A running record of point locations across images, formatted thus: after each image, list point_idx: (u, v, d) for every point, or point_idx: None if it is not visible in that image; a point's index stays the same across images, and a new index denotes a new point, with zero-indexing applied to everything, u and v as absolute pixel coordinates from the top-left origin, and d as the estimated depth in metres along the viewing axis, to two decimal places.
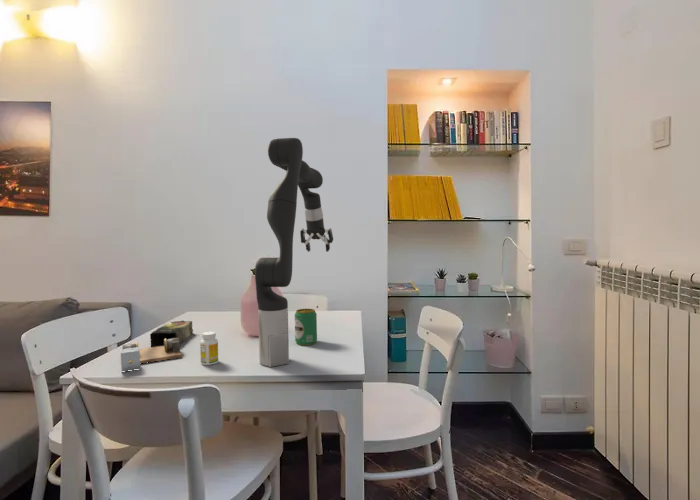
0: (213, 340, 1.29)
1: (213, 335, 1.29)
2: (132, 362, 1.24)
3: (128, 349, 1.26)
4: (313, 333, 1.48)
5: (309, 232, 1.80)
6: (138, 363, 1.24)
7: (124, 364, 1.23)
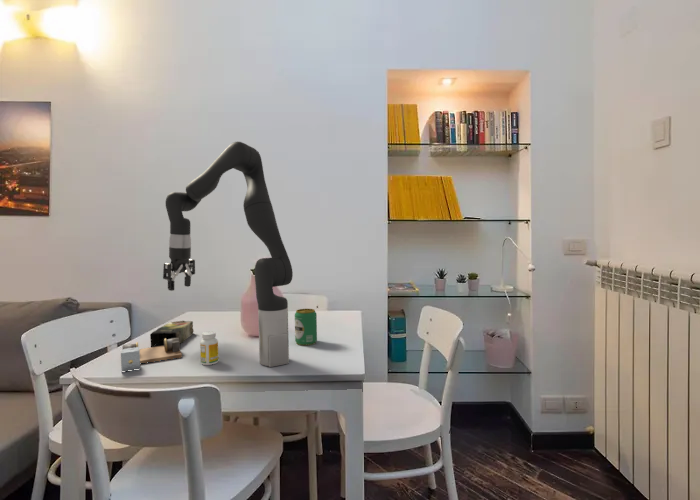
0: (213, 340, 1.29)
1: (213, 335, 1.29)
2: (132, 362, 1.24)
3: (128, 349, 1.26)
4: (313, 333, 1.48)
5: (177, 264, 1.51)
6: (138, 363, 1.24)
7: (124, 364, 1.23)
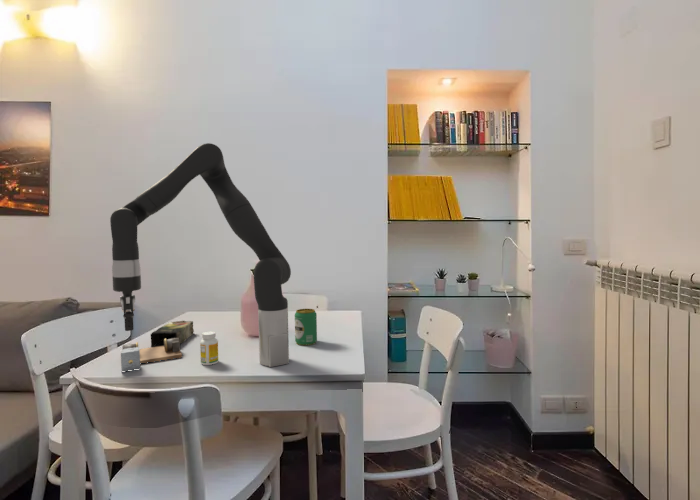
0: (213, 340, 1.29)
1: (213, 335, 1.29)
2: (132, 362, 1.24)
3: (128, 349, 1.26)
4: (313, 333, 1.48)
5: None
6: (138, 363, 1.24)
7: (124, 364, 1.23)
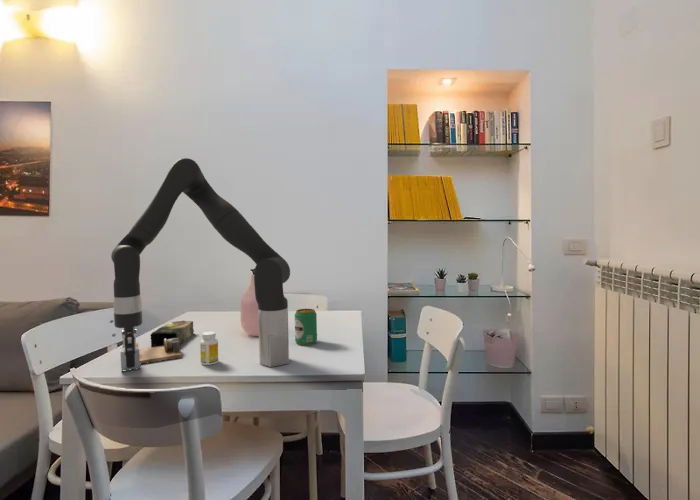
0: (213, 340, 1.29)
1: (213, 335, 1.29)
2: None
3: None
4: (313, 333, 1.48)
5: (133, 333, 1.24)
6: (138, 362, 1.25)
7: (124, 363, 1.23)
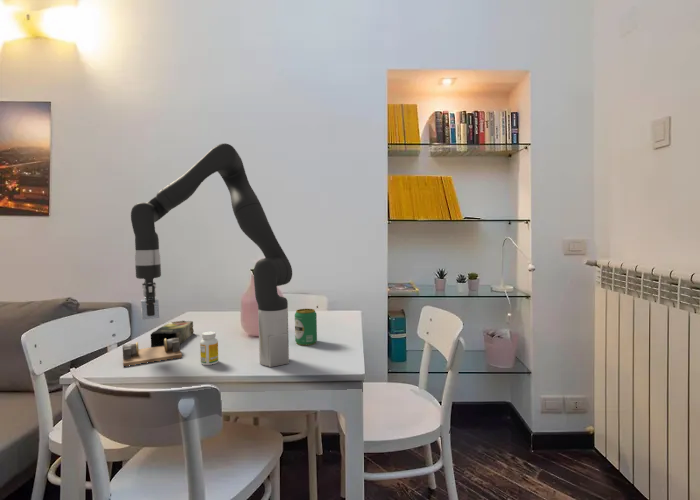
0: (213, 340, 1.29)
1: (213, 335, 1.29)
2: None
3: (148, 299, 1.37)
4: (313, 333, 1.48)
5: (153, 283, 1.34)
6: (157, 311, 1.35)
7: (145, 311, 1.34)
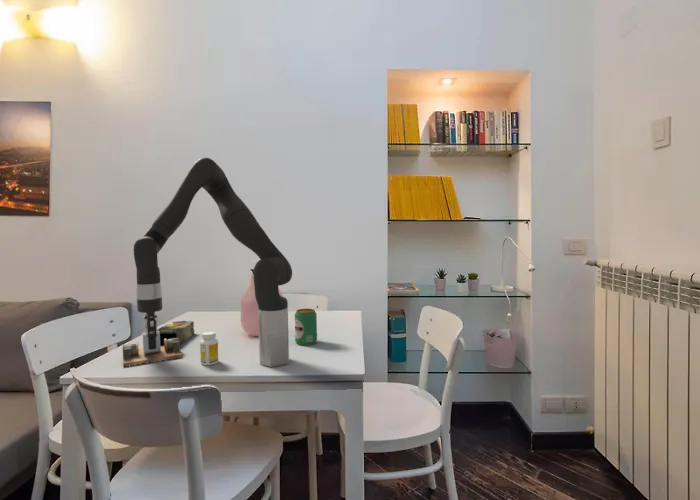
0: (213, 340, 1.29)
1: (213, 335, 1.29)
2: None
3: None
4: (313, 333, 1.48)
5: (154, 317, 1.35)
6: (158, 344, 1.36)
7: (146, 345, 1.34)
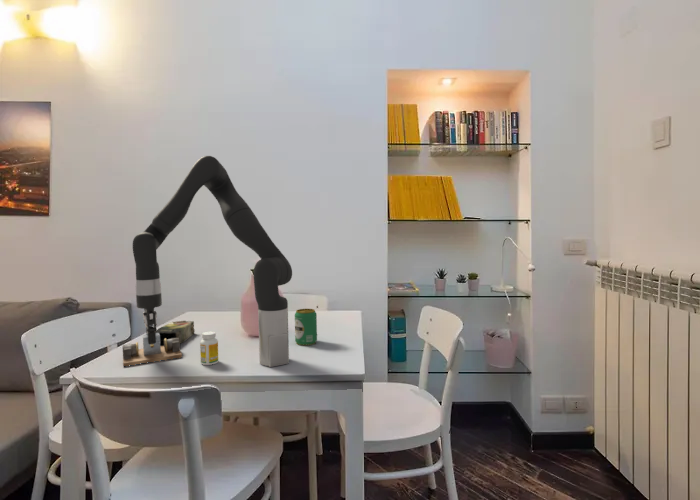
0: (213, 340, 1.29)
1: (213, 335, 1.29)
2: (153, 346, 1.35)
3: None
4: (313, 333, 1.48)
5: None
6: (159, 347, 1.36)
7: (146, 347, 1.34)
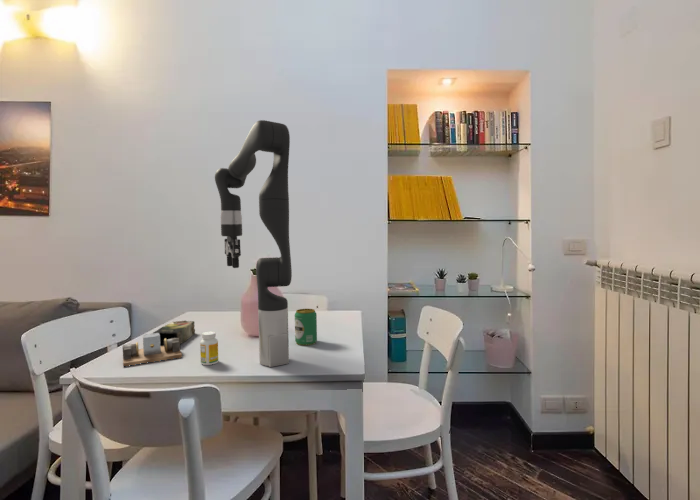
0: (213, 340, 1.29)
1: (213, 335, 1.29)
2: (153, 346, 1.35)
3: (149, 334, 1.38)
4: (313, 333, 1.48)
5: None
6: (159, 347, 1.36)
7: (146, 347, 1.34)
